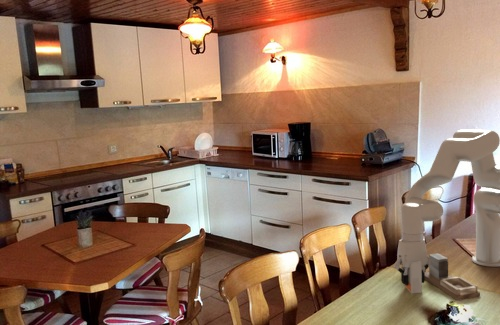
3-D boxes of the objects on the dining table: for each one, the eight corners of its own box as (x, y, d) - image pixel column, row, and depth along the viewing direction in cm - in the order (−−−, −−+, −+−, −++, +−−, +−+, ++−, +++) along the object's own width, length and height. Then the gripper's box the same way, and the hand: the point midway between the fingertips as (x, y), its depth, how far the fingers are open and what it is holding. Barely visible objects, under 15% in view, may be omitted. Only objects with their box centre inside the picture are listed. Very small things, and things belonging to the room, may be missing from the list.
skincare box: (404, 287, 168) (403, 257, 167) (414, 286, 168) (414, 256, 167) (411, 294, 162) (410, 262, 161) (422, 292, 162) (422, 261, 161)
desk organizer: (439, 273, 179) (439, 250, 178) (480, 296, 157) (480, 270, 155) (419, 276, 177) (419, 253, 176) (457, 300, 155) (457, 274, 154)
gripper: (427, 230, 168) (427, 276, 170) (385, 236, 165) (386, 282, 167) (439, 236, 161) (439, 283, 163) (396, 242, 157) (397, 290, 160)
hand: (413, 282), depth 165 cm, fingers open, 5 cm apart
